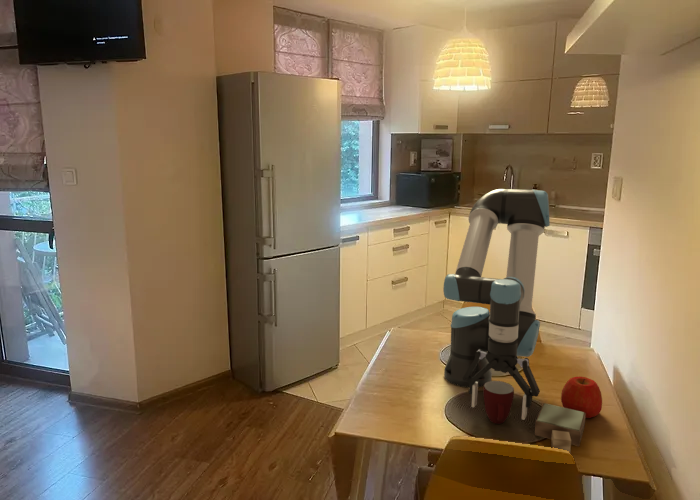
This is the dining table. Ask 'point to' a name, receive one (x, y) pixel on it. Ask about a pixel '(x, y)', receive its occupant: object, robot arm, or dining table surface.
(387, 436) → the dining table surface
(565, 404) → the apple
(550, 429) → the podium
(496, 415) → the mug
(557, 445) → the oak block
